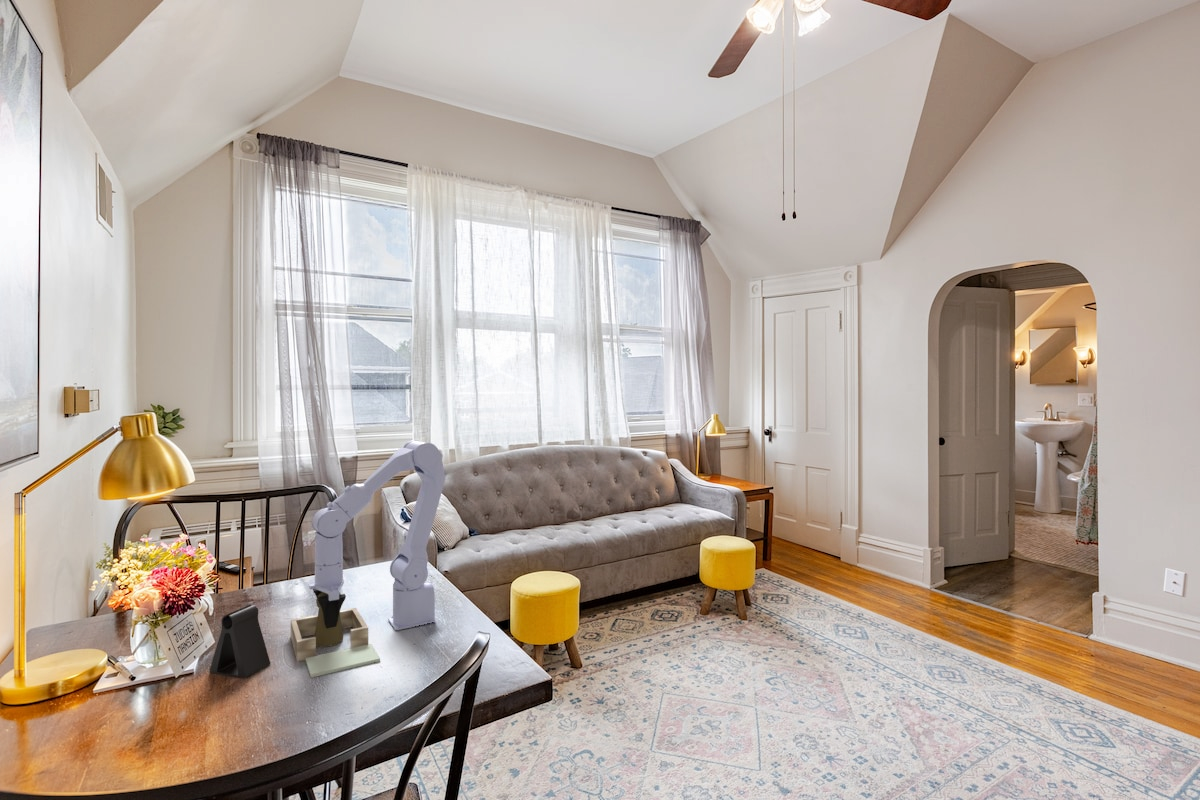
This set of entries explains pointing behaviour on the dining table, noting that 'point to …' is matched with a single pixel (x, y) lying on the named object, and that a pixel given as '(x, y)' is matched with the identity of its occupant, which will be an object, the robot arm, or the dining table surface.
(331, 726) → the dining table surface
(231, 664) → the black triangular stand
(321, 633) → the olive game pawn
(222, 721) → the dining table surface
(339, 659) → the sage mat
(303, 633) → the access bay
